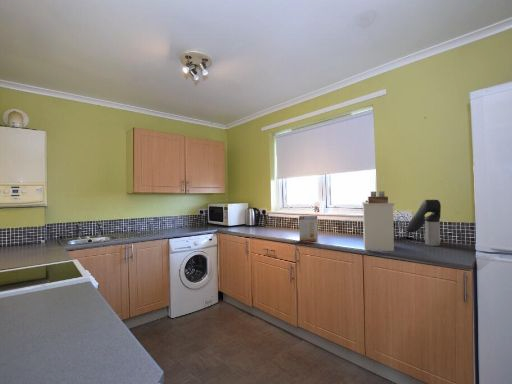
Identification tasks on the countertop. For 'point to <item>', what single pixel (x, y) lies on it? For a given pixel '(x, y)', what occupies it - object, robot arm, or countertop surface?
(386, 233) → the cabinet
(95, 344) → the countertop surface
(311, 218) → the cracker box
